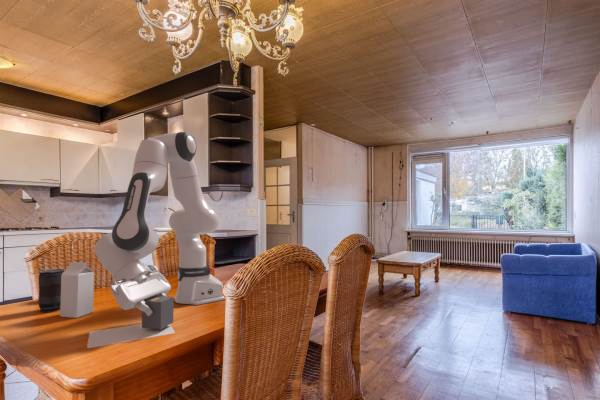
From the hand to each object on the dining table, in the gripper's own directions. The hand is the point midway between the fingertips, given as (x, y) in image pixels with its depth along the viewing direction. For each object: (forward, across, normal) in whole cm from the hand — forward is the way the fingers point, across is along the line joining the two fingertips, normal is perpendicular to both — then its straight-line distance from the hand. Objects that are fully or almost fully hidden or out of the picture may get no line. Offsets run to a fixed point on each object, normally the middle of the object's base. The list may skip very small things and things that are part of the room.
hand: (159, 310), depth 102 cm
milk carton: (-24, +11, +34) cm, 43 cm away
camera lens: (-34, +14, +45) cm, 58 cm away
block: (+3, 0, +4) cm, 5 cm away
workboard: (+1, -5, +9) cm, 10 cm away
